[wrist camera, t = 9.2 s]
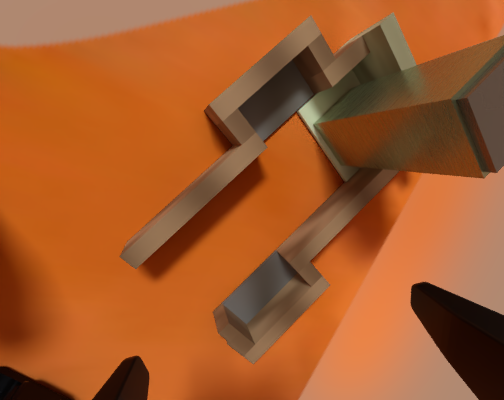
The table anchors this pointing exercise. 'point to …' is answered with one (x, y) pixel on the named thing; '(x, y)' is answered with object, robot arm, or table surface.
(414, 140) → the olive tin
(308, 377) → the table surface
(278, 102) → the trap lane
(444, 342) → the robot arm
